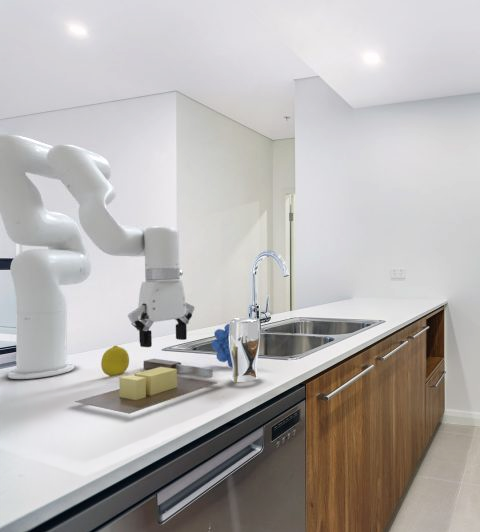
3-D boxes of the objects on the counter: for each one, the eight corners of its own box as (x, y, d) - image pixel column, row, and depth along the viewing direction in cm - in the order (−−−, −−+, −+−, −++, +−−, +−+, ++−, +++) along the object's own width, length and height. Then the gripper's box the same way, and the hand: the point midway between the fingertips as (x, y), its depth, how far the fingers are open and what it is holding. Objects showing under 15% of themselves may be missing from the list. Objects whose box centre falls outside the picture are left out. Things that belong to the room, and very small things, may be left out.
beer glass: (223, 383, 93) (223, 319, 93) (251, 377, 98) (251, 316, 98) (236, 389, 88) (237, 322, 88) (265, 383, 94) (265, 319, 93)
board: (74, 407, 77) (74, 401, 77) (168, 379, 96) (168, 374, 96) (129, 420, 71) (129, 413, 71) (218, 387, 90) (218, 382, 90)
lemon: (114, 382, 94) (114, 348, 94) (95, 380, 95) (95, 347, 95) (134, 375, 99) (134, 343, 99) (116, 374, 100) (116, 342, 100)
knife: (143, 373, 101) (143, 360, 101) (153, 370, 104) (153, 358, 104) (207, 383, 93) (207, 369, 93) (217, 380, 96) (217, 366, 96)
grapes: (208, 373, 101) (208, 326, 101) (212, 367, 108) (212, 323, 107) (257, 370, 105) (257, 324, 105) (257, 364, 111) (257, 321, 111)
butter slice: (119, 397, 80) (119, 377, 80) (129, 394, 82) (129, 374, 82) (136, 400, 78) (136, 380, 78) (145, 397, 80) (145, 377, 80)
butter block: (134, 392, 83) (134, 373, 83) (160, 384, 88) (160, 366, 88) (150, 395, 81) (150, 376, 81) (177, 387, 86) (177, 368, 86)
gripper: (182, 274, 110) (183, 336, 110) (117, 277, 94) (119, 349, 94) (202, 274, 107) (203, 337, 107) (139, 276, 91) (141, 351, 91)
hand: (164, 342), depth 101 cm, fingers open, 9 cm apart
